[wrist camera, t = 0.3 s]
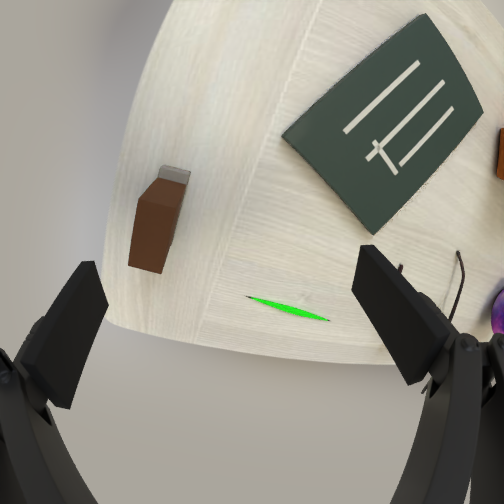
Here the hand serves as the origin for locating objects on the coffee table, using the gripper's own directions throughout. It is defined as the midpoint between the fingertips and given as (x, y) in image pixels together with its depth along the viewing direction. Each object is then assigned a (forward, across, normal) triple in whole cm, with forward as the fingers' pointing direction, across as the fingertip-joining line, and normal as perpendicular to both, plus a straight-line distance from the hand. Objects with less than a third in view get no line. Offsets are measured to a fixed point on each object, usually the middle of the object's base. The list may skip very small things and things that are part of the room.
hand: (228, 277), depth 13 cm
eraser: (+17, -6, -2) cm, 18 cm away
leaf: (+18, +8, -17) cm, 26 cm away
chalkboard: (+17, +21, +9) cm, 28 cm away
